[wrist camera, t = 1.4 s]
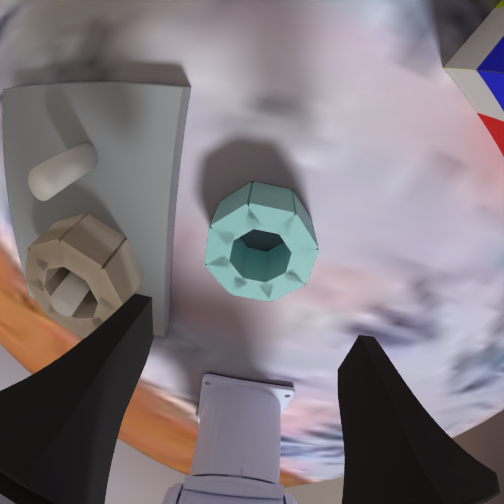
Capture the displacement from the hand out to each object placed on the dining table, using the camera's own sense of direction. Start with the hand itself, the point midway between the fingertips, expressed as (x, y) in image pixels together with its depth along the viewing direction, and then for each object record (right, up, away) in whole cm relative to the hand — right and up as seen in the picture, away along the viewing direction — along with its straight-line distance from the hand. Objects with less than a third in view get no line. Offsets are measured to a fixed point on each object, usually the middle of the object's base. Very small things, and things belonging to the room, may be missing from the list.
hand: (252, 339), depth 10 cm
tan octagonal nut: (-10, +2, +7) cm, 13 cm away
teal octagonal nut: (+1, +4, +7) cm, 8 cm away
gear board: (-10, +6, +7) cm, 14 cm away
